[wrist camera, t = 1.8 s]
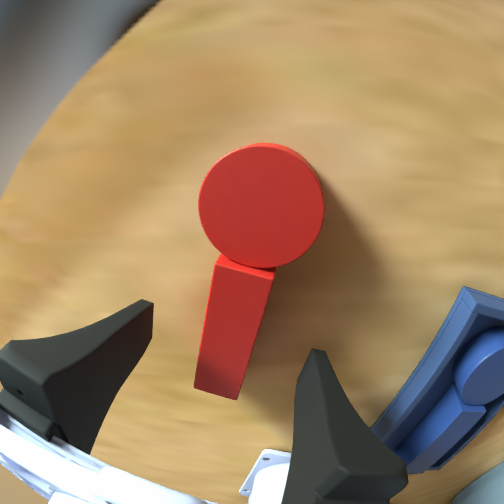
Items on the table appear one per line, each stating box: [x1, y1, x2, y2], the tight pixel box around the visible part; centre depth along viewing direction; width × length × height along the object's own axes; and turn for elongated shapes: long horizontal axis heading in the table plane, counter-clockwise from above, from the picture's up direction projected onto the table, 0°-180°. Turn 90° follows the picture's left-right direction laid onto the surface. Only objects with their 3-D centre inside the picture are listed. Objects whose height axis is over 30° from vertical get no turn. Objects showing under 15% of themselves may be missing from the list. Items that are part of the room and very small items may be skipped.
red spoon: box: [194, 143, 325, 400], centre depth 13 cm, size 11×4×2 cm, turn 167°
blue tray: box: [370, 286, 504, 470], centre depth 14 cm, size 14×8×2 cm, turn 167°
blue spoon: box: [394, 326, 504, 474], centre depth 13 cm, size 11×4×2 cm, turn 167°
